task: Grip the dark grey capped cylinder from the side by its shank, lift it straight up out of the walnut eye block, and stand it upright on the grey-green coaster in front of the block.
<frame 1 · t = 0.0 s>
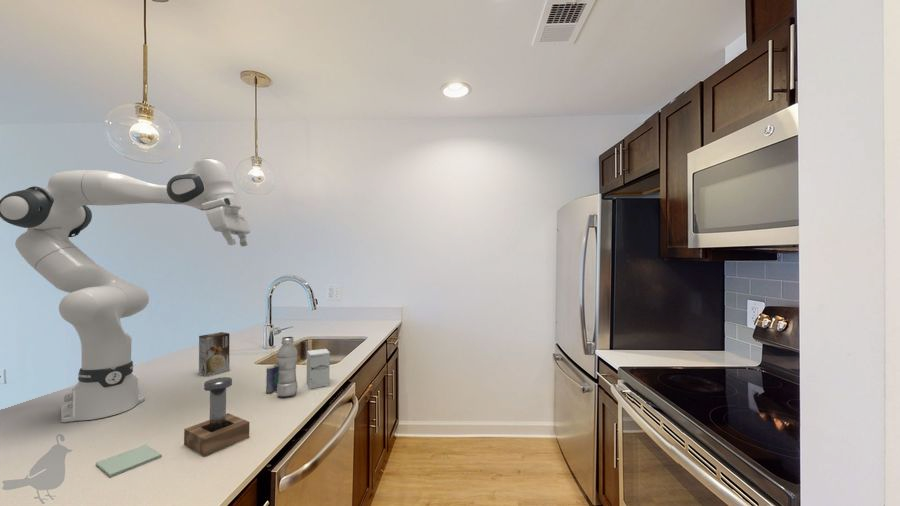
hand: (238, 245, 115), 52 cm above the countertop, tool tilted 20°, fingers open, 8 cm apart
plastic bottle: (287, 396, 119), on the countertop
walnut eye block: (217, 440, 89), on the countertop
dark grey capped cylinder: (217, 410, 89), in the walnut eye block
flask: (278, 390, 125), on the countertop
coffee box: (214, 373, 144), on the countertop
coaster: (129, 460, 80), on the countertop
supplement box: (317, 385, 129), on the countertop
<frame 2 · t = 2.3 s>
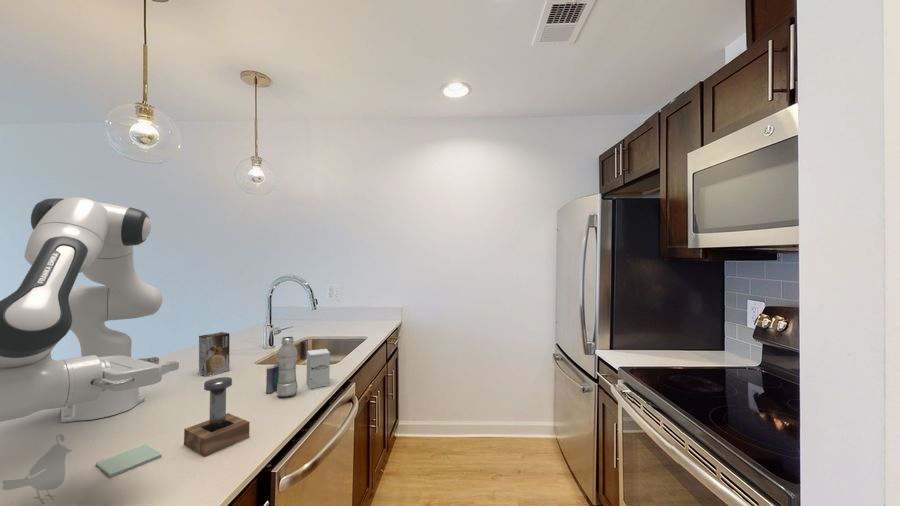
hand: (167, 362, 80), 23 cm above the countertop, tool horizontal, fingers open, 8 cm apart
nothing on the countertop moved.
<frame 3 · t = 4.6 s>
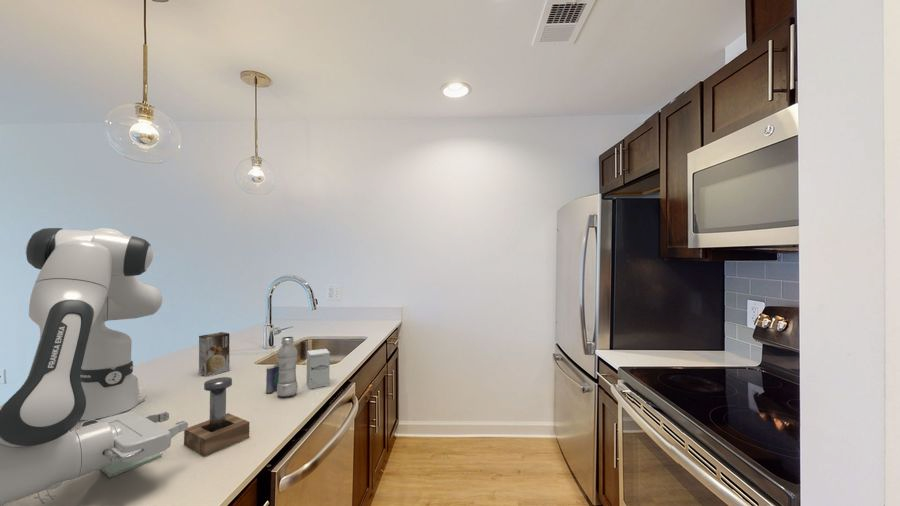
hand: (176, 419, 81), 9 cm above the countertop, tool horizontal, fingers open, 8 cm apart
nothing on the countertop moved.
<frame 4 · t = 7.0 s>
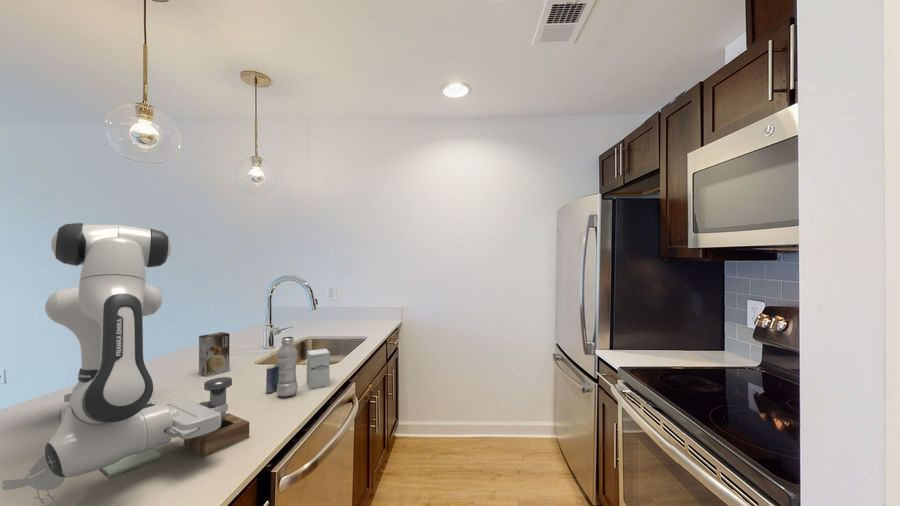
hand: (221, 404, 90), 9 cm above the countertop, tool horizontal, fingers closed on dark grey capped cylinder, 3 cm apart
dark grey capped cylinder: (217, 410, 89), in the walnut eye block, touching gripper
everything else where it was.
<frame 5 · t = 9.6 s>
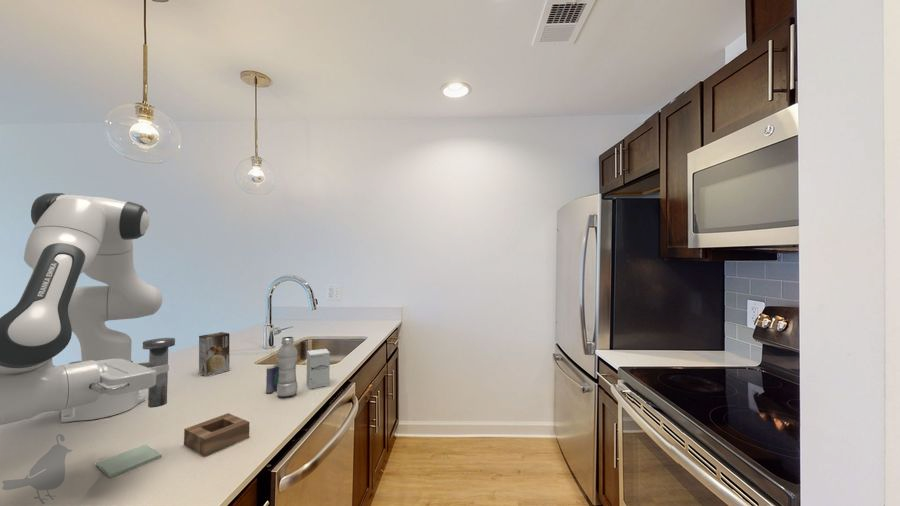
hand: (162, 365, 84), 21 cm above the countertop, tool horizontal, fingers closed on dark grey capped cylinder, 3 cm apart
dark grey capped cylinder: (158, 372, 83), point 20 cm above the countertop, touching gripper
everything else where it was.
when the fingers open (11 cm above the countertop, at t = 12.2 s): dark grey capped cylinder drops 1 cm, resting on coaster.
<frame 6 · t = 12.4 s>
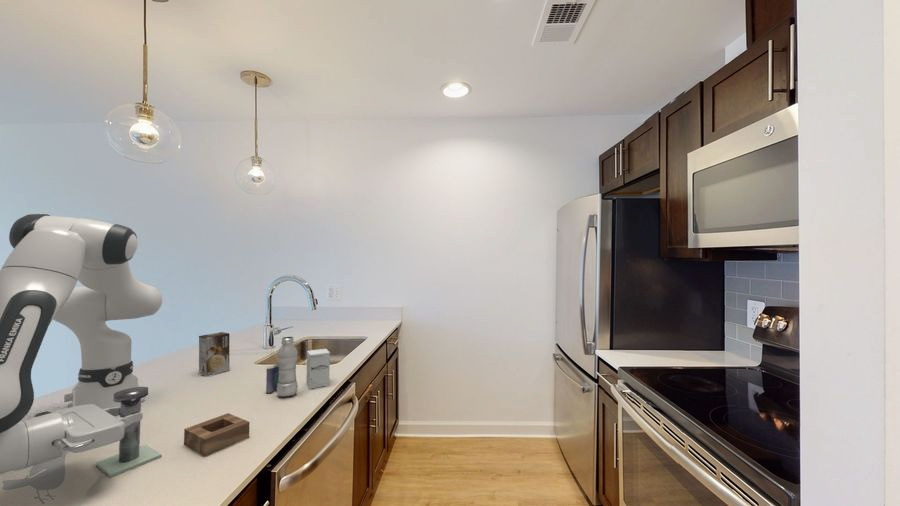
hand: (135, 412, 81), 11 cm above the countertop, tool horizontal, fingers open, 5 cm apart
dark grey capped cylinder: (130, 424, 80), on the coaster, point 8 cm above the countertop
everything else where it was.
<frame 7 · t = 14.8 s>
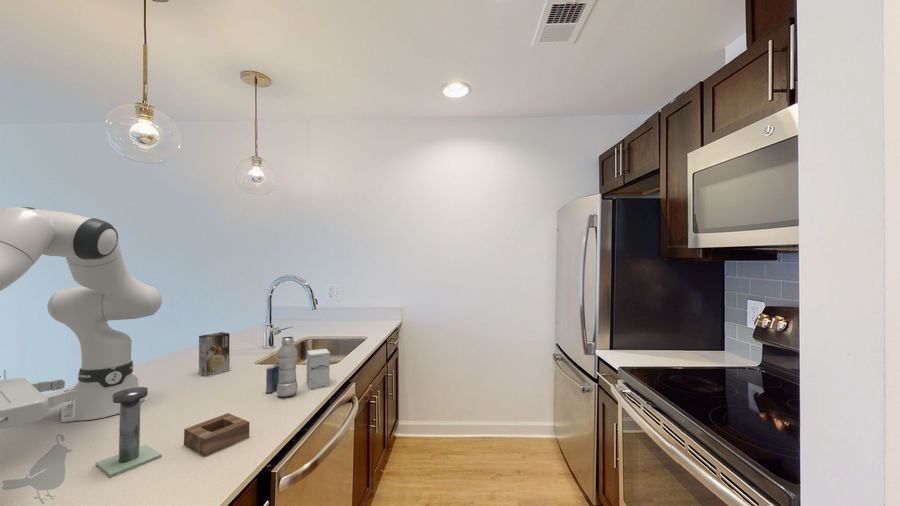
hand: (70, 388, 71), 20 cm above the countertop, tool horizontal, fingers open, 8 cm apart
nothing on the countertop moved.
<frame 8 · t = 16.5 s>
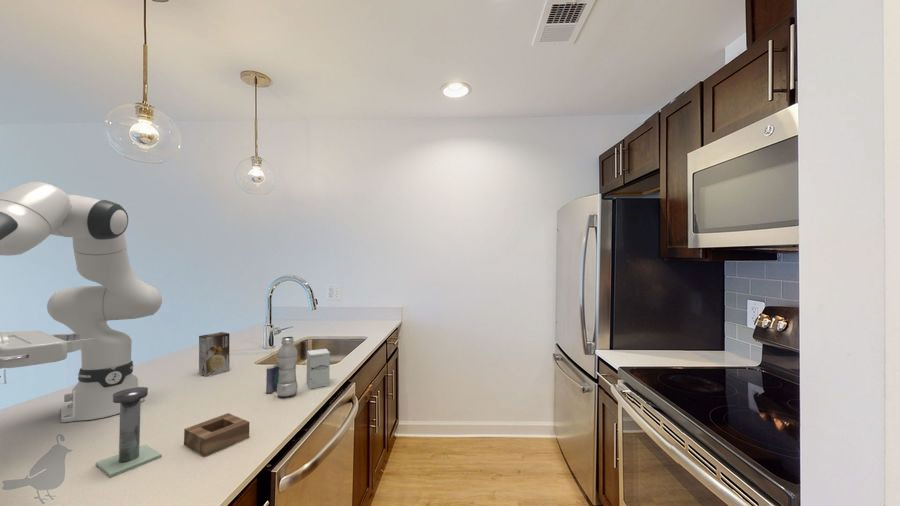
hand: (86, 339, 73), 30 cm above the countertop, tool horizontal, fingers open, 8 cm apart
nothing on the countertop moved.
at the end: dark grey capped cylinder inside the target area on the coaster (0.1 cm from its centre), point 8.3 cm above the coaster's base; dark grey capped cylinder tilted 0°; the gripper is holding nothing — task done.
